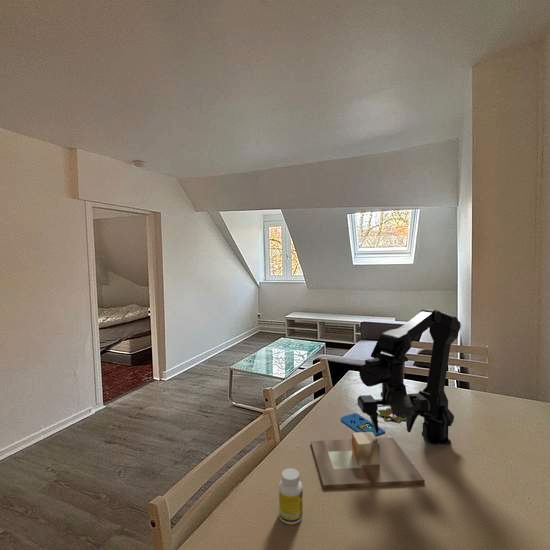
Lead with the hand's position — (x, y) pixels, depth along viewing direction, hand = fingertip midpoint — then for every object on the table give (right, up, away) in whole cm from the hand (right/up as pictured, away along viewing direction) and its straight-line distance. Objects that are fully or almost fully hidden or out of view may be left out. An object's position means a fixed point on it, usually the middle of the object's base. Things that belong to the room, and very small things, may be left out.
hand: (392, 432), depth 93 cm
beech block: (-5, -4, 0) cm, 6 cm away
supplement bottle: (-30, -10, -19) cm, 37 cm away
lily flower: (+10, -8, +27) cm, 30 cm away
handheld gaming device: (-4, -8, +20) cm, 22 cm away
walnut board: (-9, -8, 0) cm, 12 cm away
